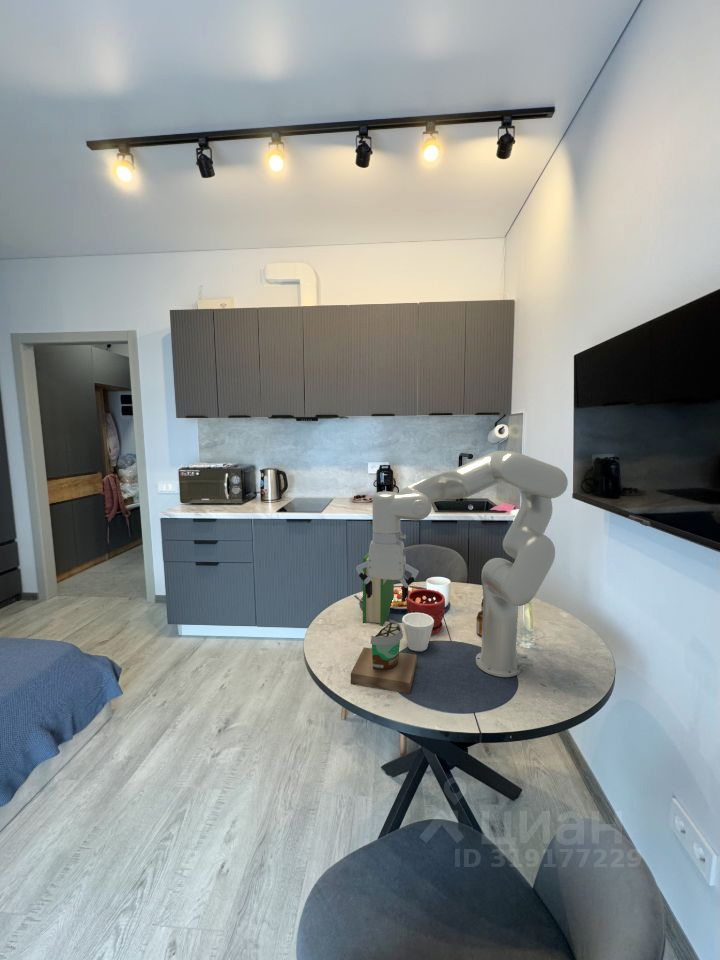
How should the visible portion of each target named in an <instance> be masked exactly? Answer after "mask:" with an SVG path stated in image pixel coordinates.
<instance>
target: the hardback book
mask: <svg viewBox="0 0 720 960" xmlns="http://www.w3.org/2000/svg"><path fill="white" fill-rule="evenodd" d="M368 556H369V551H368V552H367V553H366V555H364V556H363V557H362V563H364V562H367V561H368ZM362 570H363V572H364V573H365V574H366V575H367V576H368V567H366V568H363V569H362ZM371 581H372V595H371V597H370V598H367V594H366V593H365V583H364V581H363V580H362V624H364V623H365V624H366V623H367V622H371V623H378V624H380V625H379V626H381V627H383V626H384V625H385V624H386V621H387V620H388V618H387V617H389V616H388V615H390V614H391V612H390V606H391V603H392V600H393V598H394V595H395V594H394V593H395V591H394V590H395V589H394V588H395V580H388V579H376V578H372V579H371ZM389 613H390V614H389ZM366 621H367V622H366Z"/></svg>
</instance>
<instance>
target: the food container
mask: <svg viewBox="0 0 720 960" xmlns="http://www.w3.org/2000/svg"><path fill="white" fill-rule="evenodd" d="M403 637H404V633H403V630H402V627H401V625H400V623H399V622H397V621H395V620H392V619H389V623H388V624H387V625H386V626H385V627H383V628H380V630H379V632H378V633H376V635H371V637H370V644H371V648H372V660H373V669H375V670H390V669H393V668H395V667H396V666H397V665H398V658H399V652H400V646H401V640H402V639H403Z"/></svg>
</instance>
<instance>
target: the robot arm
mask: <svg viewBox="0 0 720 960" xmlns="http://www.w3.org/2000/svg"><path fill="white" fill-rule="evenodd" d="M500 483H504V484H507V485H511V486H513V487H516V488H518V491H519V494H520V498H521V499H520V500H521V502H520V506H519V510H518V511H517V514H516V515H515V517H514V519H513V521H512V522H511V525H510V526H509V528H508V530H507V532H506V533H505V535H504V538H503V540H502V548H503V550H504V552H505V553H506V554H507V555H508V556H509V557H511V558H512V559H514V562H511V561H509V560H508V559H506V558H502V557H494V558H493V557H492V558H491V559H489V560H488V561H487V562H485V564H484V565H483V567H482V569H481V587H482V588H481V589H482V596H483V599H482V600H483V602H482V622H481V623H482V627H481V628H482V630H481V631H482V633H481V651H480V652H479V653H477V654H476V656H475V664H476V666H477V667H478V668H479V669H480V670H481V671H483V672H485V673H486V674H488V675H491V676H494V677H499V678H511V677H516V676H517V675H519V674H520V673H521V671H522V666H527V667H534V659H533V658H529V657H528V655H527V654H520V653H518V650H517V639H518V638H517V637H518V618H519V607H523V606H525V605H528V604H529V603H530V602H532V600H533V599H534V597H536V595H537V593H538V592H539V590H540V588H541V586H542V585H543V582H544V580H545V578H547V575H548V574H549V572H550V570H551V568H552V566H553V564H554V562H555V559H556V549H555V548H556V547H555V544H554V542H553V541H552V540H551V538H550V537H549V536H547V535H546V534H545V532H546V530H547V528H548V525H549V523H550V522H551V518H552V515H553V502H552V499H556V498H558V497H561V496H562V495H563V494H564V493H565V492H566V490H567V487H568V484H569V481H568V477H567V474H566V473H565V472H564V471H563V469H561V468H560V467H558V466H556V465H552V464H549V463H547V462H545V461H541V460H539V459H537V458H533V457H530V456H528V455H525V454H523V453H520V452H517V451H509V450H495V451H492V452H490V453H487V454H485V455H483V456H480V457H478V458H476V459H474V460H472V461H469V462H466V463H465V464H462V465H461V466H458V467H456V468H453V469H451V470H446V471H444V472H442V473H439V474H436V475H431V476H430V477H426V478H423V479H421V480H420V481H417V482H415V483H413V484H410V485H407V486H406V487H404V488H402V489H401V490H400V491H399V492H396V491H387V490H386V491H378V492H375V493H374V494H373V496H372V540H370V544H369V549H368V552H369V556H368V561H367V562H364V563H363V562H362V563H360V564H358V565H356V567H355V570H356V572H357V574H358V577H359V578H360V579H361V580H362V582H363V581H364V583H365V593H366V594H367V598H370V597H371V595H372V581H371V579H372V578H376V579H388V580H394V581H399V582H400V584H402V587H401V602H406V600H407V598H408V593H409V586H410V585H411V584H413V583H414V581H415V580H416V578H417V576H418V574H419V570H418V569H417V568H415V567H413V566H411V565H410V564H409V563H406V561H407V558H406V549H405V543H404V541H403V540H407V539H406V538H407V535H406V534H405V533H402V531H401V520H409V521H421V520H424V519H426V518H427V517H429V515H430V514H431V512H432V507H433V506H432V504H433V503H436V502H440V501H443V500H455V499H456V500H459V499H465V498H469V497H471V496H474V495H475V494H478V493H480V492H482V491H484V490H486V489H489V488H490V487H494V486H495V485H497V484H500ZM366 567H368V576H367V575H366V574H365V573H364V572H363V568H366ZM407 572H409V573H410V574H411V575H410V577H407V576H406V574H407Z"/></svg>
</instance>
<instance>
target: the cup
mask: <svg viewBox="0 0 720 960" xmlns="http://www.w3.org/2000/svg"><path fill="white" fill-rule="evenodd" d="M401 623H402V625H403V628H404V632H405V633H404V634H405V639H406V643H407V647H408V649H409V650H411V651H413V652H417V653H420V652H422V653H423V652H425V651H426V650H428V646H429V642H430V638H431V635H432V634H431V632H432V628H433V625H434V620H433V618H432V617H431V616H429V615H427V614H424V613H409V614H408V613H406V614H405V615H403V616H402V618H401Z"/></svg>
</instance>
